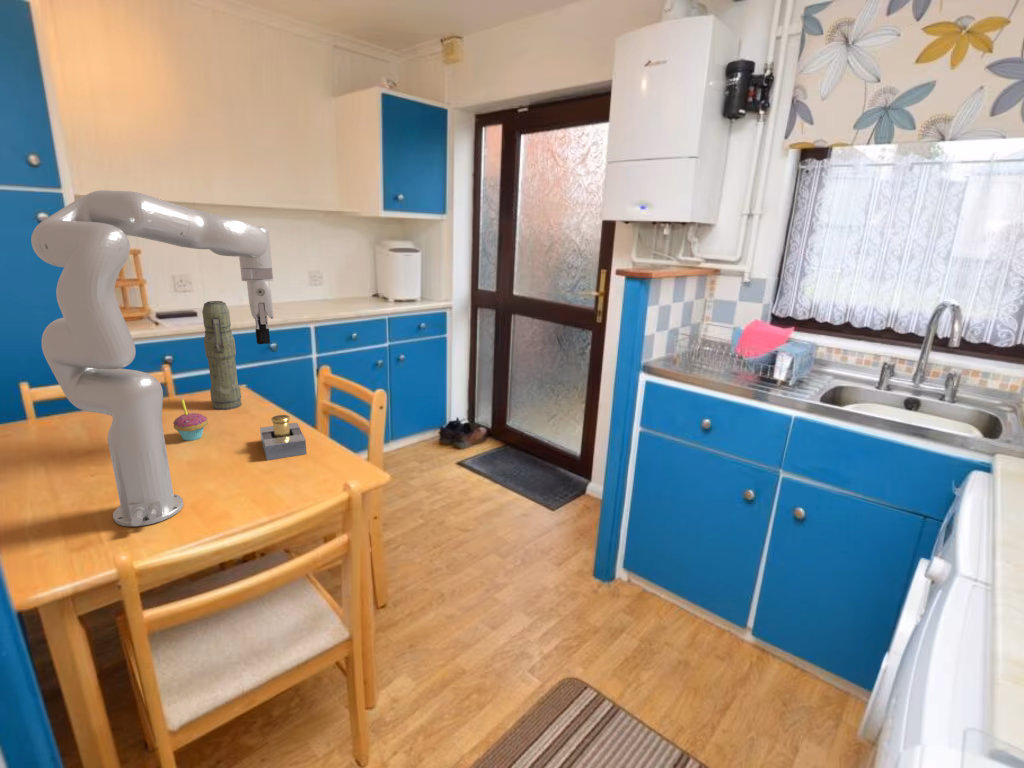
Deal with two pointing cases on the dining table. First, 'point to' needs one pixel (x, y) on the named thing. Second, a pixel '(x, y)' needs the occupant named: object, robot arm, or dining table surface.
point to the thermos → (221, 356)
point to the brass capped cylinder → (281, 426)
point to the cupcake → (190, 424)
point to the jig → (283, 443)
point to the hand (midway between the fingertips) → (263, 343)
